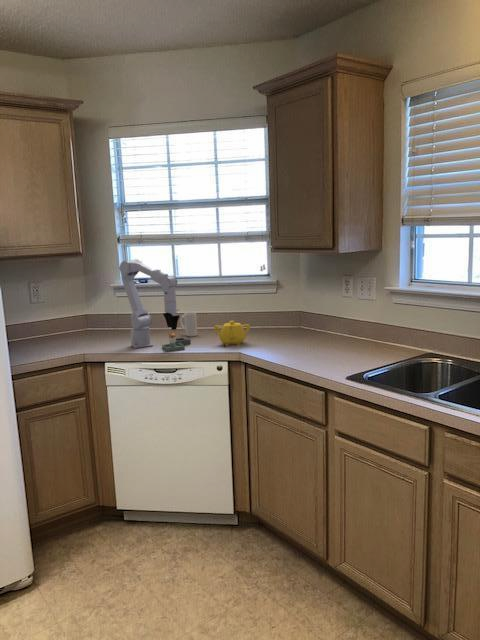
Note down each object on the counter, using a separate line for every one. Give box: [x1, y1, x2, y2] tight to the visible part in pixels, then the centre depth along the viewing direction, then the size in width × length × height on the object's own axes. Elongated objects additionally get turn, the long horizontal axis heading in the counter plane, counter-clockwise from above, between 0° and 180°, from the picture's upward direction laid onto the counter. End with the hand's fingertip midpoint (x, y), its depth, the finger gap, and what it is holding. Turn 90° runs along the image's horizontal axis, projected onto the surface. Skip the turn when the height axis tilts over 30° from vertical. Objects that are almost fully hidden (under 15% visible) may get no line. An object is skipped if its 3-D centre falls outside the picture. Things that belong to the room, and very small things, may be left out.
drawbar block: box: [176, 336, 192, 346], centre depth 279 cm, size 9×7×2 cm
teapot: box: [214, 320, 251, 347], centre depth 273 cm, size 14×14×12 cm
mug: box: [179, 312, 198, 337], centre depth 300 cm, size 10×7×12 cm, turn 63°
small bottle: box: [168, 332, 176, 348], centre depth 268 cm, size 3×3×7 cm
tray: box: [161, 343, 186, 353], centre depth 269 cm, size 9×9×2 cm
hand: (172, 328), depth 267 cm, fingers open, 7 cm apart
